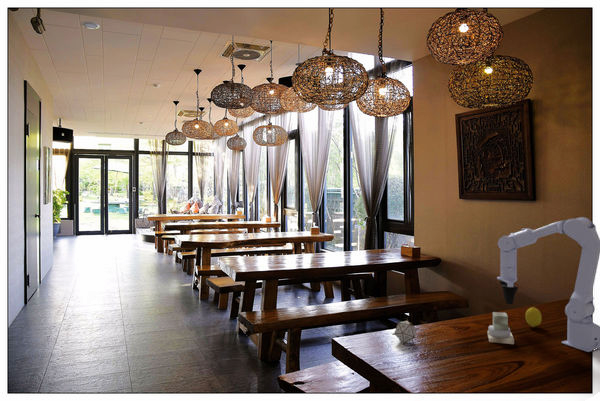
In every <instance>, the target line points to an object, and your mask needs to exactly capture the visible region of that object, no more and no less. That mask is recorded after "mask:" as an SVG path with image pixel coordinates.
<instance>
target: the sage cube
mask: <svg viewBox="0 0 600 401" xmlns="http://www.w3.org/2000/svg"><path fill="white" fill-rule="evenodd" d="M508 318H509V317H508V314H507V312H500V311H499V312H497V311H493V312H492V325H493V328H494V329H495V330H508V327H509V322H508V321H509V319H508Z"/></svg>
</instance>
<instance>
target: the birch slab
mask: <svg viewBox="0 0 600 401" xmlns="http://www.w3.org/2000/svg"><path fill="white" fill-rule="evenodd" d="M512 333H513V332H511V331H510V337H509V338H496V337H492V336H490V335H489V330H487V338H488V342H489V343H496V344H507V345H508V344H509V345H514V344H515V339H514V336H513V334H512Z"/></svg>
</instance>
